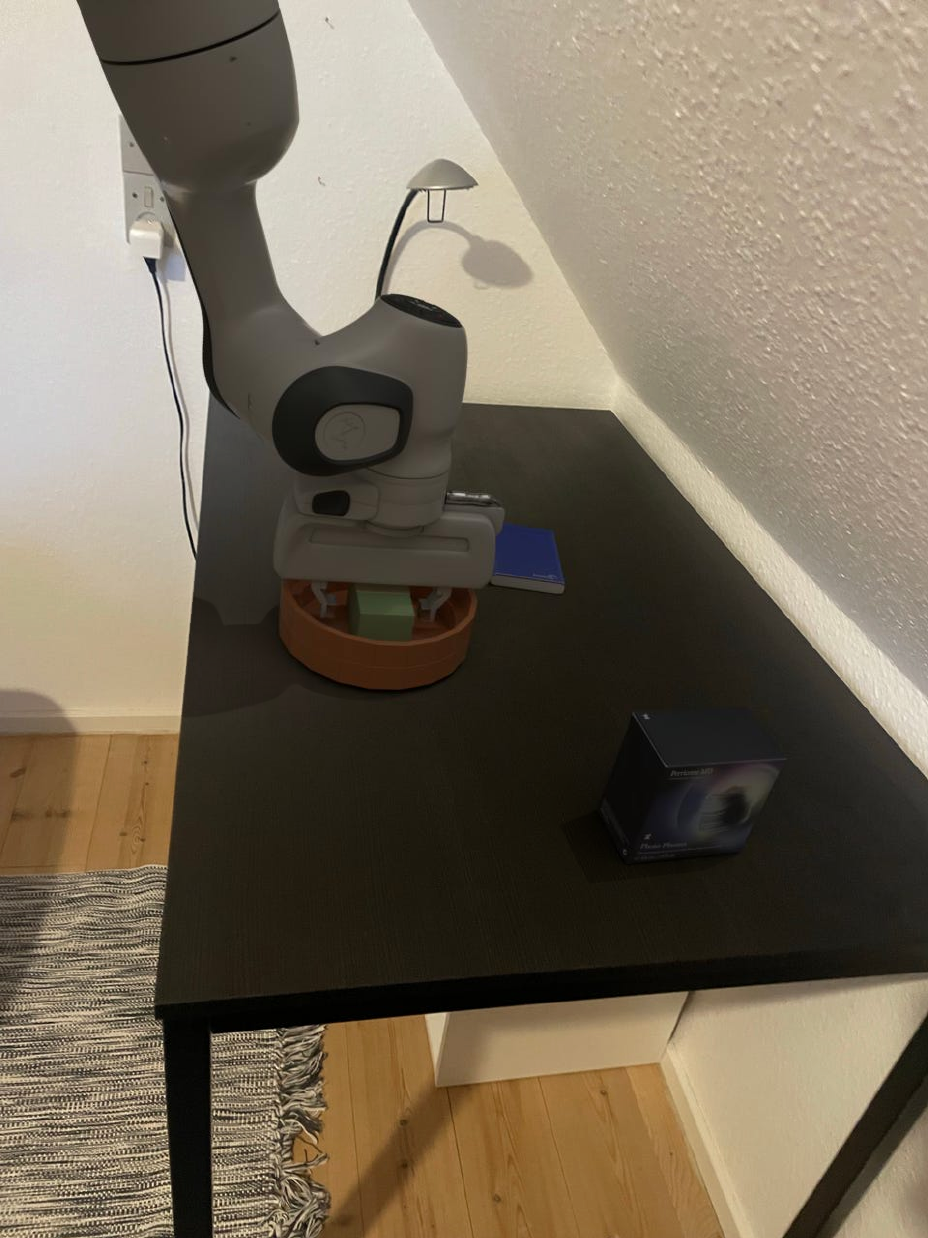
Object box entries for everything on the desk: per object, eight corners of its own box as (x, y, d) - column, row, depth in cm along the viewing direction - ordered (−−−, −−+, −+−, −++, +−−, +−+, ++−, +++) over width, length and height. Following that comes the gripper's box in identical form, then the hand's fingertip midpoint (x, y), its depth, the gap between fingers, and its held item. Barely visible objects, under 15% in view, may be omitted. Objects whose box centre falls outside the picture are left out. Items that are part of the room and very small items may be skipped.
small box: (626, 870, 72) (665, 767, 66) (593, 808, 77) (627, 708, 71) (744, 856, 75) (792, 758, 69) (705, 798, 80) (746, 702, 74)
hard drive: (565, 582, 104) (553, 530, 114) (492, 572, 103) (487, 520, 113) (562, 594, 104) (550, 541, 115) (490, 584, 103) (484, 531, 114)
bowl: (281, 692, 82) (285, 641, 79) (276, 581, 97) (279, 534, 94) (483, 697, 86) (494, 648, 83) (449, 589, 101) (457, 545, 98)
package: (353, 658, 87) (359, 612, 84) (345, 604, 94) (350, 560, 91) (407, 659, 88) (415, 615, 85) (395, 606, 95) (402, 563, 93)
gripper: (501, 480, 88) (474, 603, 95) (278, 461, 83) (268, 594, 90) (517, 512, 83) (487, 640, 90) (280, 494, 78) (269, 632, 85)
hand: (376, 617), depth 90 cm, fingers open, 8 cm apart
